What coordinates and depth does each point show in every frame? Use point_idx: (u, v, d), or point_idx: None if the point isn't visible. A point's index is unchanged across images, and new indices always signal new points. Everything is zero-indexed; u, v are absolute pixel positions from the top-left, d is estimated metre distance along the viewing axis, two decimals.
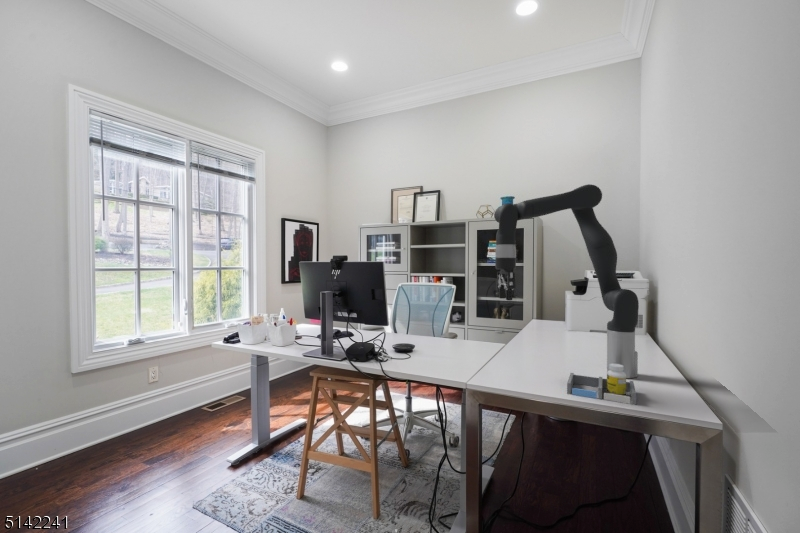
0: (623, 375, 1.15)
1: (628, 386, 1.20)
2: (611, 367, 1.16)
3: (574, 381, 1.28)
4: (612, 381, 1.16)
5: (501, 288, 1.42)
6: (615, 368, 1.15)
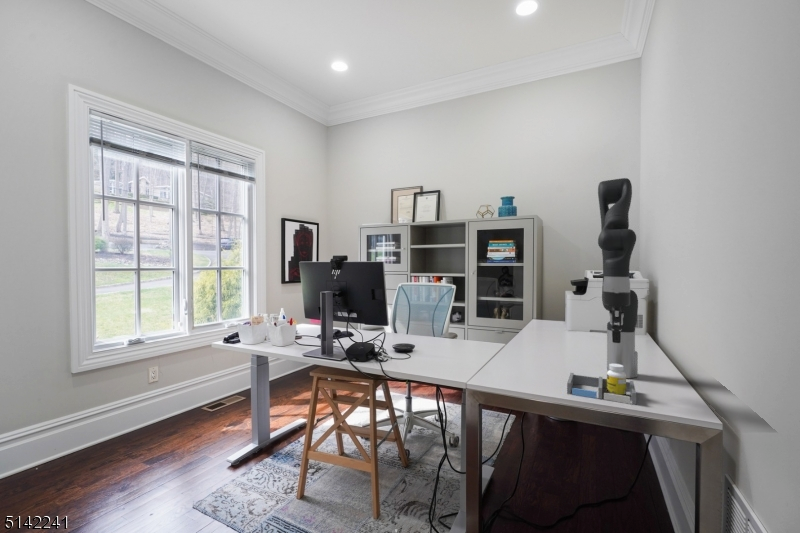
0: (623, 375, 1.15)
1: (628, 386, 1.20)
2: (611, 367, 1.16)
3: (574, 381, 1.28)
4: (612, 381, 1.16)
5: None
6: (615, 368, 1.15)
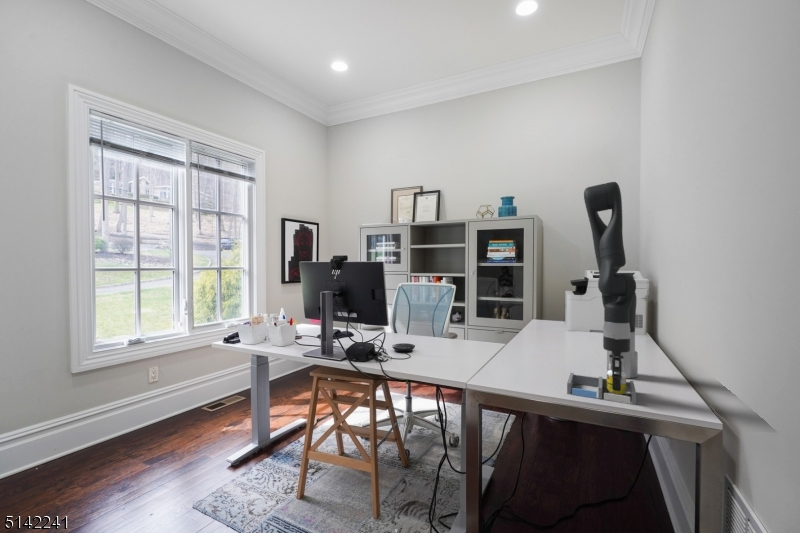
0: (623, 375, 1.15)
1: (628, 386, 1.20)
2: None
3: (574, 381, 1.28)
4: (612, 381, 1.16)
5: None
6: None
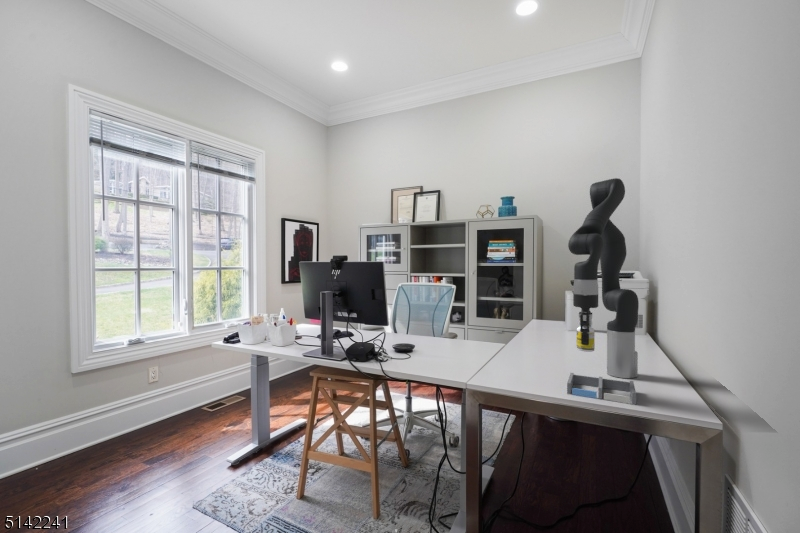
0: (591, 330, 1.19)
1: (628, 386, 1.20)
2: None
3: (574, 381, 1.28)
4: None
5: None
6: None
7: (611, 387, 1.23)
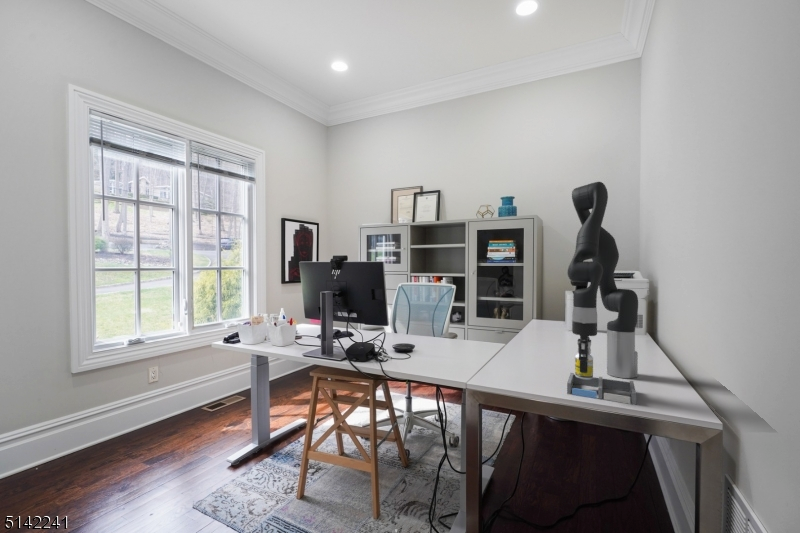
0: (590, 358, 1.19)
1: (628, 386, 1.20)
2: None
3: (574, 381, 1.28)
4: (579, 364, 1.20)
5: None
6: None
7: (611, 387, 1.23)
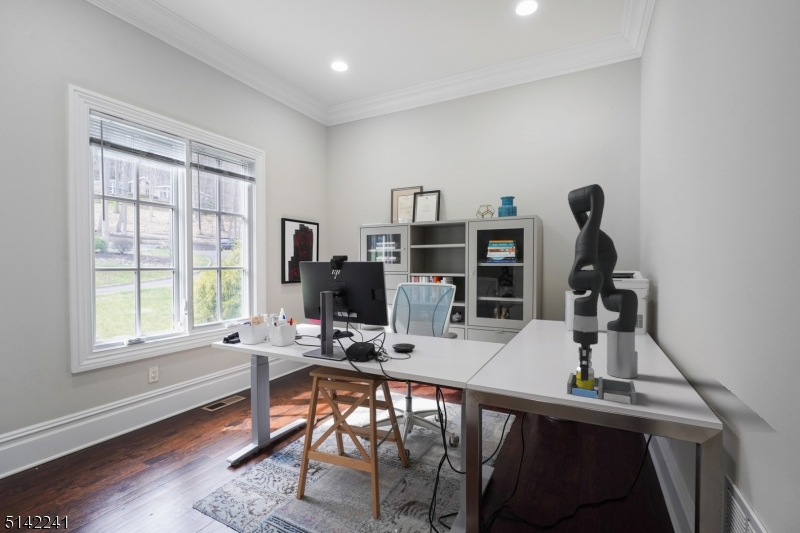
0: (591, 371, 1.19)
1: (628, 386, 1.20)
2: None
3: (574, 381, 1.28)
4: (580, 377, 1.20)
5: None
6: None
7: (611, 387, 1.23)
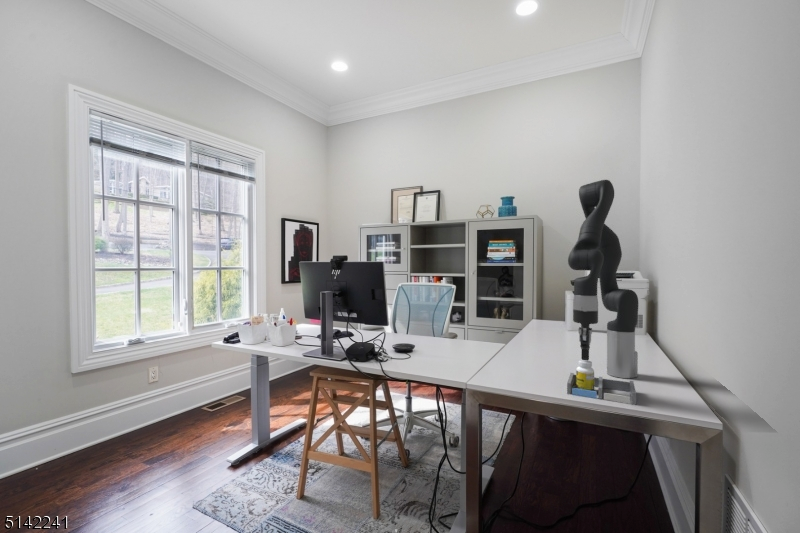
0: (591, 371, 1.19)
1: (628, 386, 1.20)
2: (580, 363, 1.21)
3: (574, 381, 1.28)
4: (580, 377, 1.20)
5: None
6: (583, 364, 1.20)
7: (611, 387, 1.23)
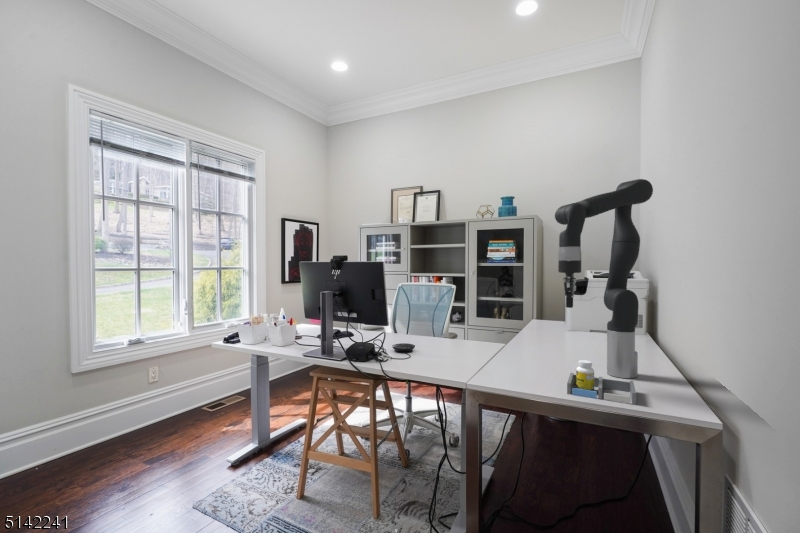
0: (591, 371, 1.19)
1: (628, 386, 1.20)
2: (580, 363, 1.21)
3: (574, 381, 1.28)
4: (580, 377, 1.20)
5: None
6: (583, 364, 1.20)
7: (611, 387, 1.23)
